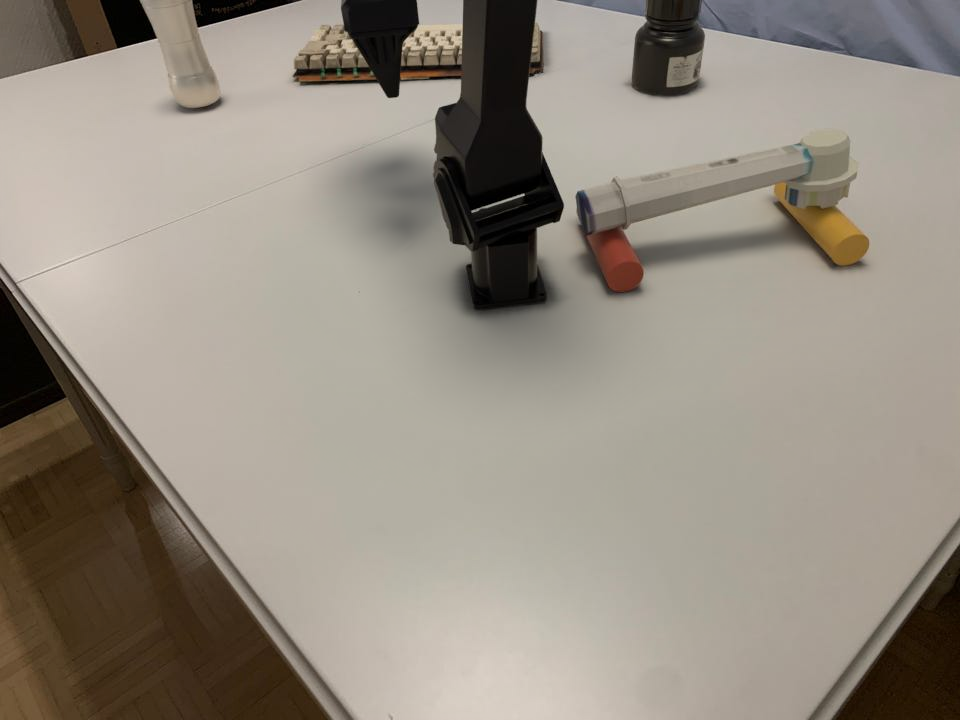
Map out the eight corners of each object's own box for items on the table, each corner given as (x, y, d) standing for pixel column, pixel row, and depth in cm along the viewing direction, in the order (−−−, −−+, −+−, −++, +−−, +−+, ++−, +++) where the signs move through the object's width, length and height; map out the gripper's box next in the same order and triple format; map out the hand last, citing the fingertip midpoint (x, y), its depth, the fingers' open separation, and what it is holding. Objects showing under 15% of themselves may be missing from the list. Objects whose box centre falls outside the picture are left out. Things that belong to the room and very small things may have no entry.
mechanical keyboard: (542, 33, 115) (542, 10, 113) (544, 76, 101) (544, 52, 99) (315, 44, 118) (311, 22, 116) (286, 88, 104) (280, 64, 102)
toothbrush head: (571, 177, 63) (845, 105, 63) (578, 240, 67) (834, 172, 67) (588, 206, 59) (879, 129, 59) (594, 271, 63) (866, 199, 63)
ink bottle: (683, 101, 91) (697, 1, 83) (619, 91, 95) (626, -6, 87) (707, 76, 97) (722, -20, 89) (646, 67, 101) (655, -26, 93)
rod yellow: (863, 263, 63) (874, 232, 61) (828, 267, 63) (838, 236, 60) (801, 198, 72) (809, 169, 70) (770, 201, 72) (777, 172, 69)
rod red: (642, 289, 62) (645, 259, 60) (606, 294, 62) (608, 263, 59) (607, 220, 71) (609, 191, 69) (575, 224, 71) (576, 194, 68)
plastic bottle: (198, 117, 97) (143, -48, 84) (167, 108, 100) (109, -52, 87) (234, 100, 101) (187, -60, 88) (203, 92, 104) (153, -64, 91)
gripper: (473, -98, 53) (484, 107, 63) (451, -131, 67) (463, 41, 77) (324, -84, 53) (360, 120, 63) (333, -121, 67) (361, 52, 77)
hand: (391, 79), depth 70 cm, fingers open, 9 cm apart
